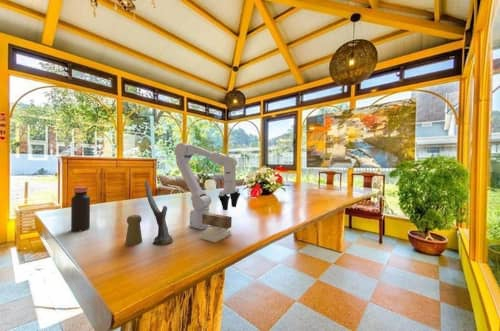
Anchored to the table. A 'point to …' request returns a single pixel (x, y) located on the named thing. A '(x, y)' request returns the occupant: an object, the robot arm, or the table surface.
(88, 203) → the bottle
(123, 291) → the table surface
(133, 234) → the cork
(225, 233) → the ridge stand
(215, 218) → the walnut beam
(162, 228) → the antler
